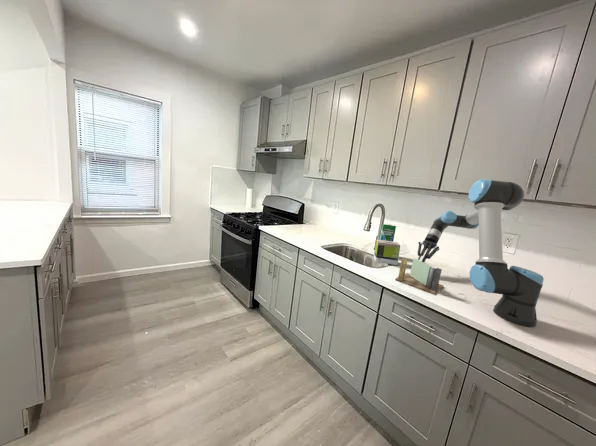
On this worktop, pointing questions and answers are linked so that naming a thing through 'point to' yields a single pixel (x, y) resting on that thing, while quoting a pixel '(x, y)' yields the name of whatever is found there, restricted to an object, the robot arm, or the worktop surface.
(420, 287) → the wooden stand
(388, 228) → the milk carton
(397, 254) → the tea box
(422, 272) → the gate
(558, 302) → the worktop surface
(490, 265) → the robot arm
